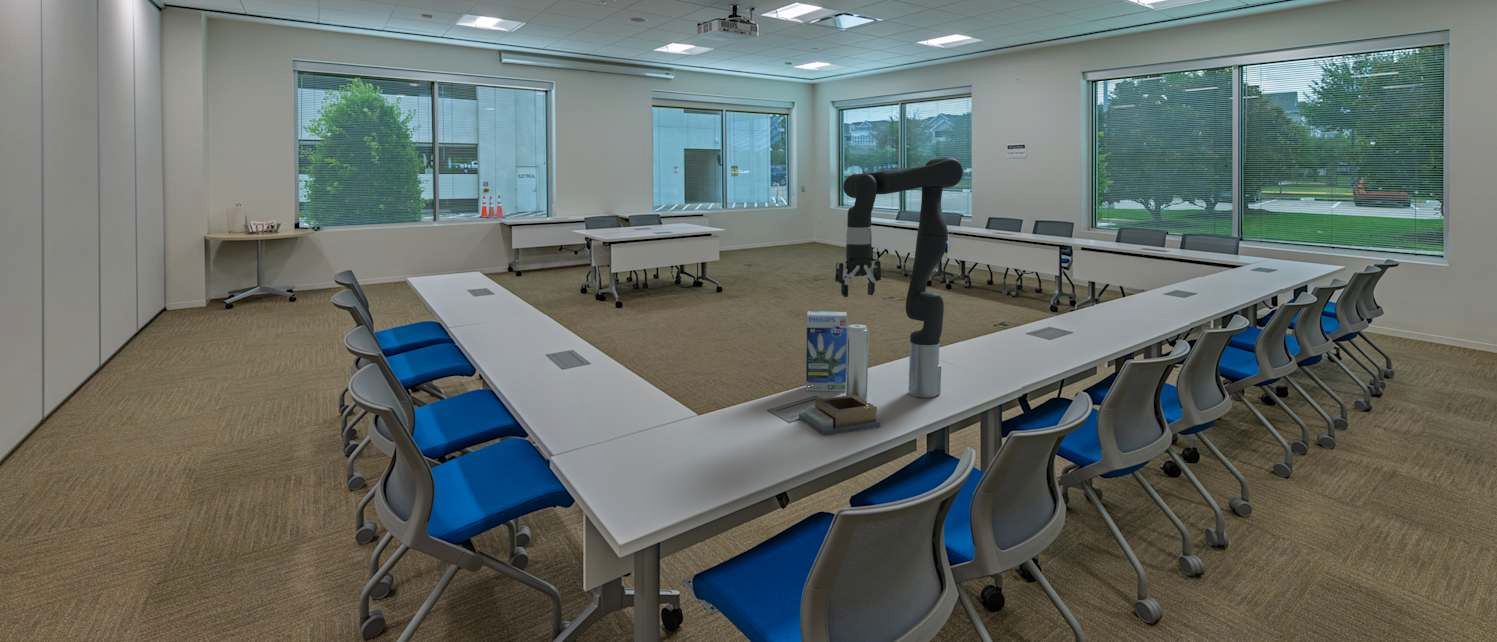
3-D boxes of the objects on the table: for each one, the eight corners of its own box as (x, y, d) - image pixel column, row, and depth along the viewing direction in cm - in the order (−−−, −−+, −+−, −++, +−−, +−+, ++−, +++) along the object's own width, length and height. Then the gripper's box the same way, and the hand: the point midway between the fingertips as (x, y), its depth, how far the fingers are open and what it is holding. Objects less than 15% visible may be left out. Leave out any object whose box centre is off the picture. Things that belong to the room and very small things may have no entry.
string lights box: (806, 391, 242) (806, 315, 237) (806, 385, 250) (806, 310, 245) (846, 392, 241) (847, 315, 236) (845, 385, 248) (846, 310, 243)
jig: (853, 410, 222) (853, 393, 221) (880, 426, 207) (880, 408, 206) (799, 418, 216) (799, 400, 215) (823, 435, 201) (823, 416, 200)
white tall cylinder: (866, 408, 224) (868, 328, 219) (845, 406, 226) (846, 327, 221) (867, 401, 231) (868, 323, 226) (846, 400, 232) (847, 323, 227)
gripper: (873, 240, 224) (872, 292, 227) (831, 242, 220) (831, 295, 223) (886, 242, 217) (884, 296, 221) (843, 244, 213) (842, 299, 216)
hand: (857, 295), depth 222 cm, fingers open, 8 cm apart
